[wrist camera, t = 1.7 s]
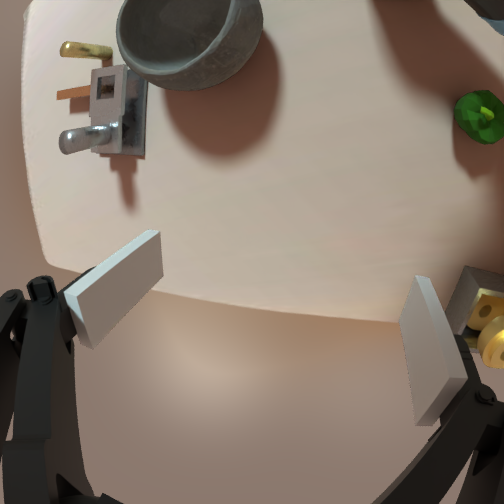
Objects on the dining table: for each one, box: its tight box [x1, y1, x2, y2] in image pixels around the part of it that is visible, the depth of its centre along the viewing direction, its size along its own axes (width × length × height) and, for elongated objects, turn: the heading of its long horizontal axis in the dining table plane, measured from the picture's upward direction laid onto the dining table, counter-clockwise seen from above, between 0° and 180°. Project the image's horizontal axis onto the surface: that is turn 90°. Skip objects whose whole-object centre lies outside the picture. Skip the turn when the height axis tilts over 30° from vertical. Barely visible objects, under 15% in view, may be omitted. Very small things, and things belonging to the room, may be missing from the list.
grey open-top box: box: [445, 266, 504, 353], centre depth 44 cm, size 14×24×8 cm, turn 84°
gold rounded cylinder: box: [60, 41, 113, 60], centre depth 41 cm, size 3×3×12 cm
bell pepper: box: [454, 90, 504, 144], centre depth 32 cm, size 8×8×10 cm
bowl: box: [116, 0, 263, 91], centre depth 35 cm, size 21×21×15 cm
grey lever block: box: [57, 64, 148, 156], centre depth 45 cm, size 18×22×15 cm
